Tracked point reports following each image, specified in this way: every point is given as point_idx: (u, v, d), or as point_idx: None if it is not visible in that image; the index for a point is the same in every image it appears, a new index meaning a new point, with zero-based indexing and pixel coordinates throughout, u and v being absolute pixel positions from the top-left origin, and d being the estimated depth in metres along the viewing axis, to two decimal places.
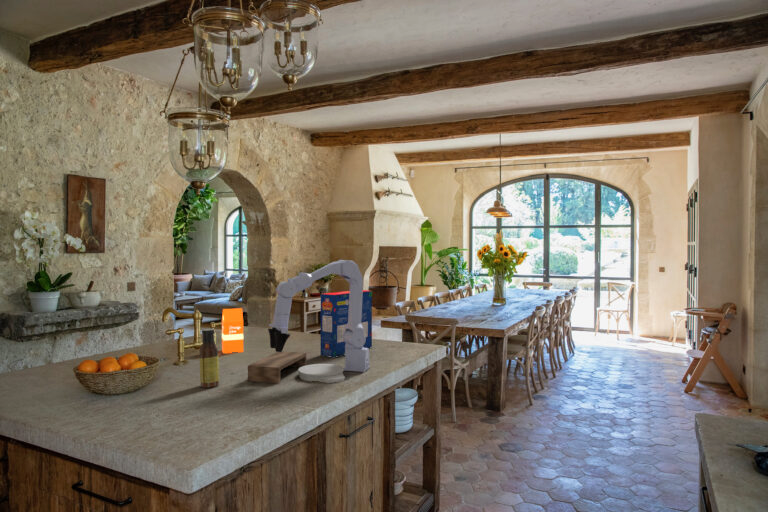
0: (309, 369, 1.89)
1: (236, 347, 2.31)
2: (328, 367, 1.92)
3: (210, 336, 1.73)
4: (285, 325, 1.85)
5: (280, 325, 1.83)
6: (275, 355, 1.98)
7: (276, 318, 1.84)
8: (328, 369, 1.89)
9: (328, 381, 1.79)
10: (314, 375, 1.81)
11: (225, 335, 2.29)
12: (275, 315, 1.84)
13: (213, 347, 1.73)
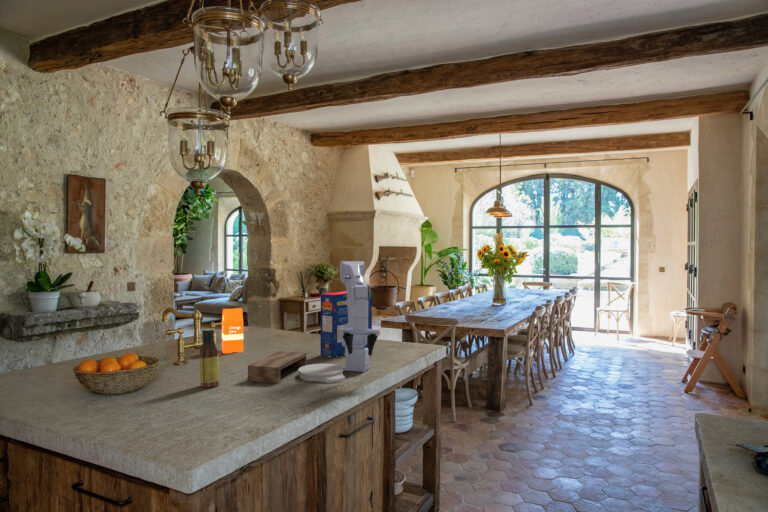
0: (309, 369, 1.89)
1: (236, 347, 2.31)
2: (328, 367, 1.92)
3: (210, 336, 1.73)
4: (367, 328, 1.84)
5: (367, 329, 1.82)
6: (275, 355, 1.98)
7: (362, 323, 1.80)
8: (328, 369, 1.89)
9: (328, 381, 1.79)
10: (314, 375, 1.81)
11: (225, 335, 2.29)
12: (360, 320, 1.80)
13: (213, 347, 1.73)
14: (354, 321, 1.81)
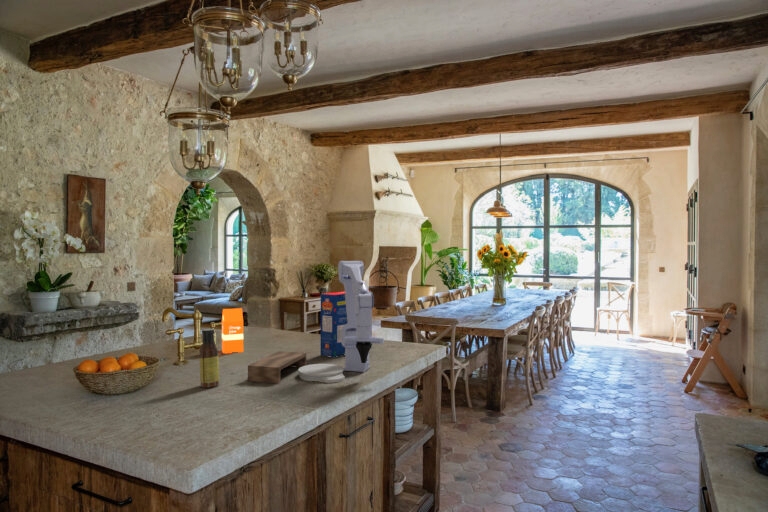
0: (309, 369, 1.89)
1: (236, 347, 2.31)
2: (328, 367, 1.92)
3: (210, 336, 1.73)
4: None
5: (371, 337, 1.83)
6: (275, 355, 1.98)
7: (366, 331, 1.82)
8: (328, 369, 1.89)
9: (328, 381, 1.79)
10: (314, 375, 1.81)
11: (225, 335, 2.29)
12: (364, 329, 1.82)
13: (213, 347, 1.73)
14: (358, 330, 1.82)
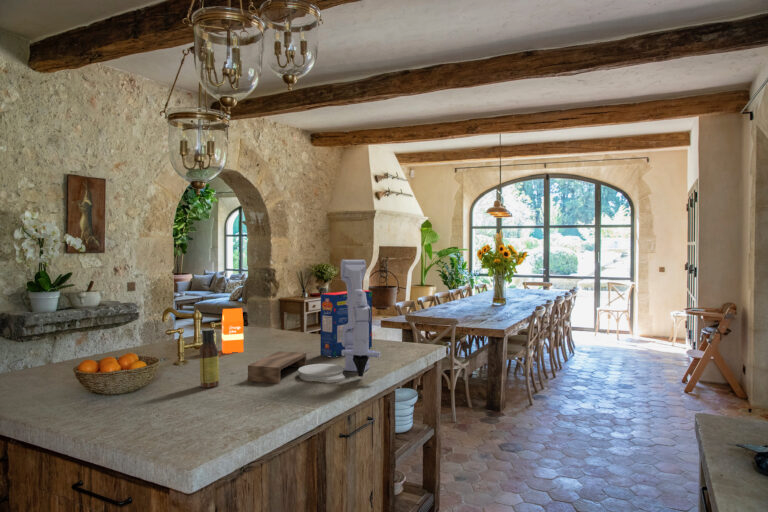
0: (309, 369, 1.89)
1: (236, 347, 2.31)
2: (328, 367, 1.92)
3: (210, 336, 1.73)
4: None
5: (367, 351, 1.84)
6: (275, 355, 1.98)
7: (363, 345, 1.82)
8: (328, 369, 1.89)
9: (328, 381, 1.79)
10: (314, 375, 1.81)
11: (225, 335, 2.29)
12: (361, 343, 1.82)
13: (213, 347, 1.73)
14: (355, 343, 1.83)
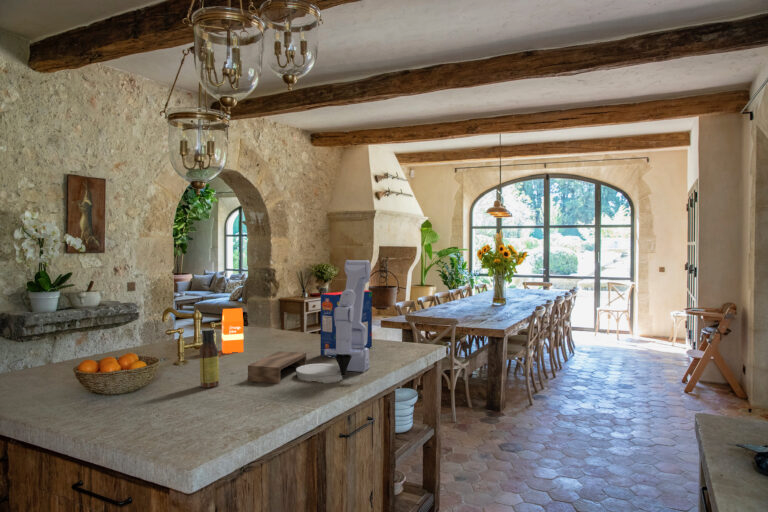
0: (307, 369, 1.89)
1: (236, 347, 2.31)
2: (326, 367, 1.92)
3: (210, 336, 1.73)
4: None
5: (350, 350, 1.85)
6: (275, 355, 1.98)
7: (346, 344, 1.84)
8: (326, 369, 1.89)
9: (325, 381, 1.80)
10: (311, 375, 1.81)
11: (225, 335, 2.29)
12: (344, 342, 1.84)
13: (213, 347, 1.73)
14: (338, 342, 1.84)
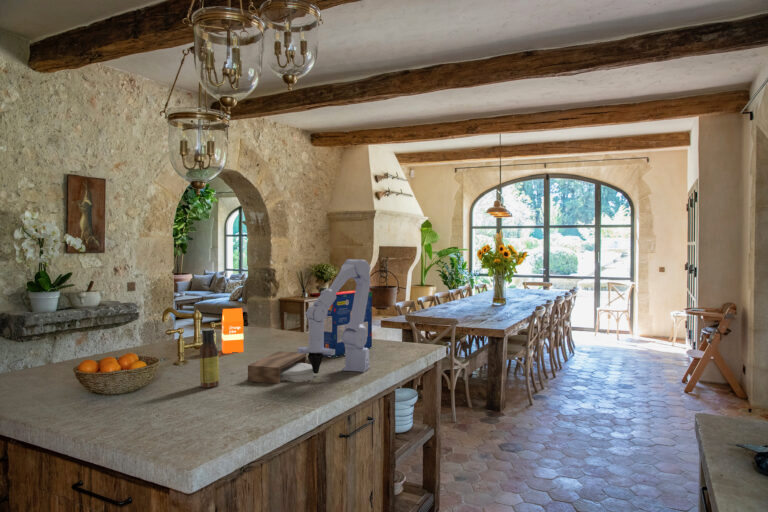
0: None
1: (236, 347, 2.31)
2: (299, 366, 1.93)
3: (210, 336, 1.73)
4: (323, 347, 1.90)
5: (322, 348, 1.88)
6: (275, 355, 1.98)
7: (318, 342, 1.86)
8: (298, 368, 1.90)
9: (295, 380, 1.81)
10: (282, 374, 1.82)
11: (225, 335, 2.29)
12: (316, 340, 1.86)
13: (213, 347, 1.73)
14: (310, 341, 1.87)
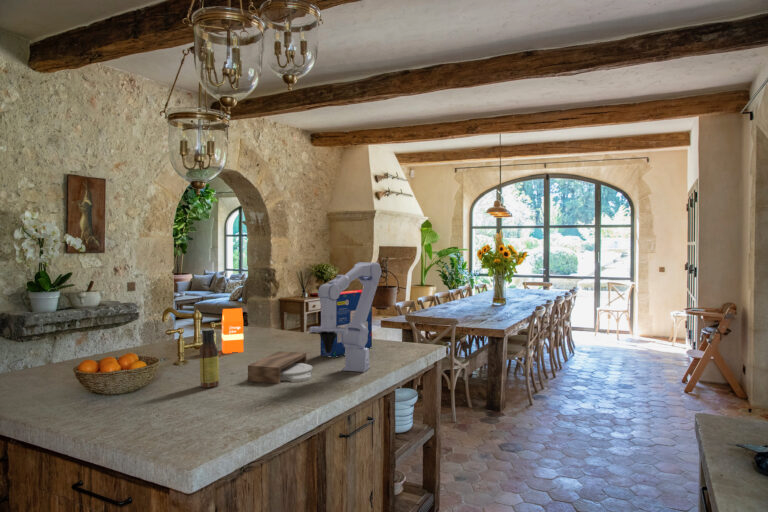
0: None
1: (236, 347, 2.31)
2: (298, 366, 1.93)
3: (210, 336, 1.73)
4: None
5: (335, 327, 1.86)
6: (275, 355, 1.98)
7: (330, 321, 1.85)
8: (297, 368, 1.90)
9: (293, 380, 1.81)
10: (280, 374, 1.82)
11: (225, 335, 2.29)
12: (328, 319, 1.85)
13: (213, 347, 1.73)
14: (322, 320, 1.85)
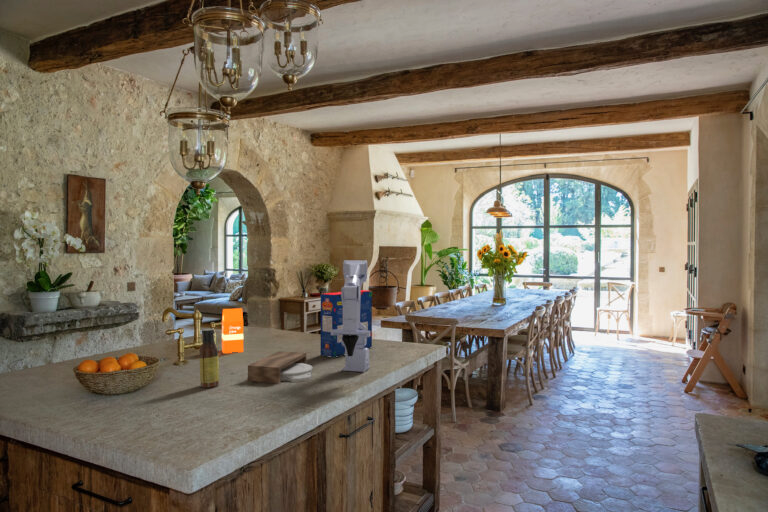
0: None
1: (236, 347, 2.31)
2: (298, 366, 1.93)
3: (210, 336, 1.73)
4: None
5: (357, 330, 1.80)
6: (275, 355, 1.98)
7: (353, 324, 1.79)
8: (297, 368, 1.90)
9: (293, 380, 1.81)
10: (280, 374, 1.82)
11: (225, 335, 2.29)
12: (351, 321, 1.79)
13: (213, 347, 1.73)
14: (344, 322, 1.79)
